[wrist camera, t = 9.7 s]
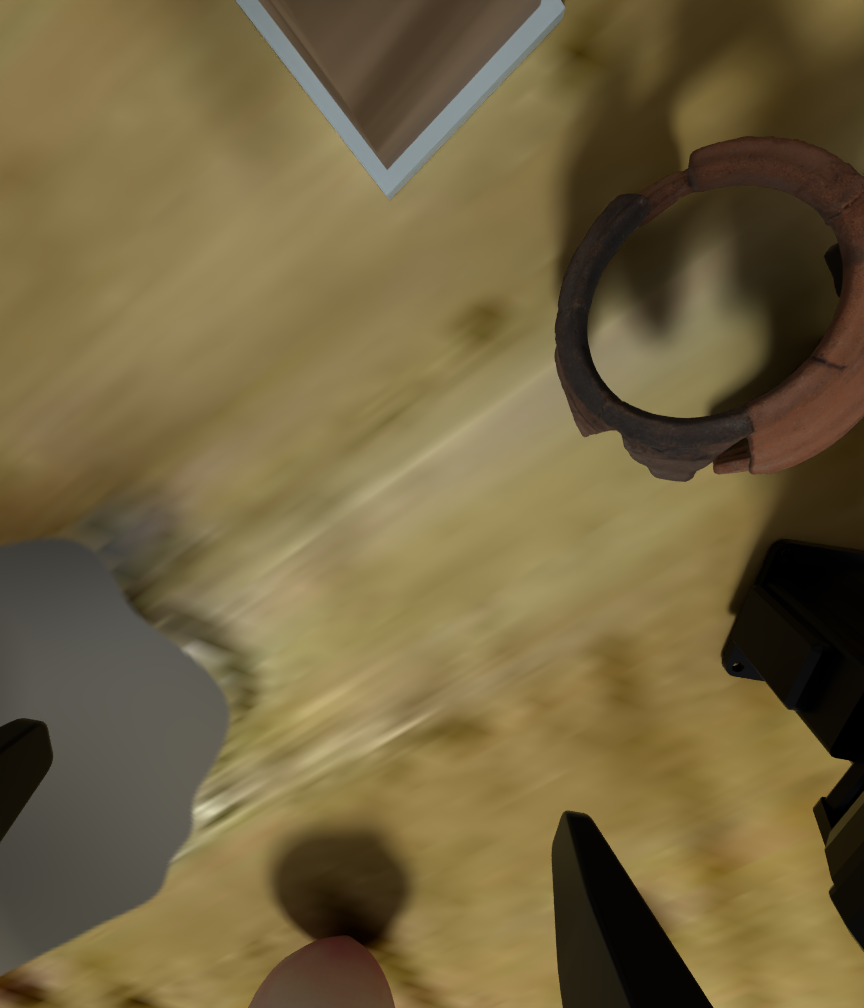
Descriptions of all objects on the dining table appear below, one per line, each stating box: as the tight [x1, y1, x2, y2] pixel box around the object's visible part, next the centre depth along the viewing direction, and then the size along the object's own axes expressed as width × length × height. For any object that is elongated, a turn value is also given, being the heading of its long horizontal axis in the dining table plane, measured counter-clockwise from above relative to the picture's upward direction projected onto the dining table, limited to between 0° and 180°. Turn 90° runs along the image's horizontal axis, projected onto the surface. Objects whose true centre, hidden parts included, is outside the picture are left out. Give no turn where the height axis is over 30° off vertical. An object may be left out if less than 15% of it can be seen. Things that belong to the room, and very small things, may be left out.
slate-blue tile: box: [236, 0, 565, 200], centre depth 14 cm, size 7×7×1 cm
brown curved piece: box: [555, 136, 864, 482], centre depth 15 cm, size 12×10×8 cm
